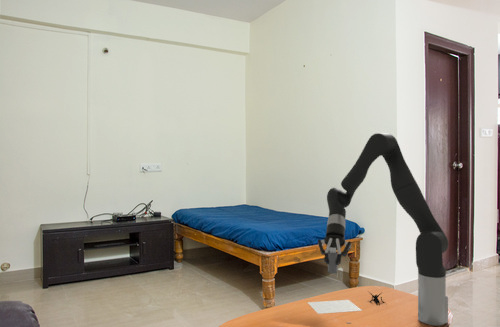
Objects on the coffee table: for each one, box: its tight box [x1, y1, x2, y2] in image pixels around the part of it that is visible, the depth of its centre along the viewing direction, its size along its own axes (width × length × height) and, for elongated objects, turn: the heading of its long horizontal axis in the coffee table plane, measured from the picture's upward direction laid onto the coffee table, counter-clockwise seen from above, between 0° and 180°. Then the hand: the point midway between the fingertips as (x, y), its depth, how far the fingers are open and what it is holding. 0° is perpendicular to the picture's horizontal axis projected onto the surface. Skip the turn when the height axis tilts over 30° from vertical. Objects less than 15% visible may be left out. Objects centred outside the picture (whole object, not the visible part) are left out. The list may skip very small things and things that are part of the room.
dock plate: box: [307, 299, 363, 315], centre depth 152 cm, size 18×12×1 cm, turn 101°
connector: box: [327, 247, 339, 274], centre depth 151 cm, size 5×4×9 cm
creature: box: [367, 291, 386, 306], centre depth 157 cm, size 8×5×8 cm
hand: (332, 263), depth 149 cm, fingers closed on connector, 3 cm apart
